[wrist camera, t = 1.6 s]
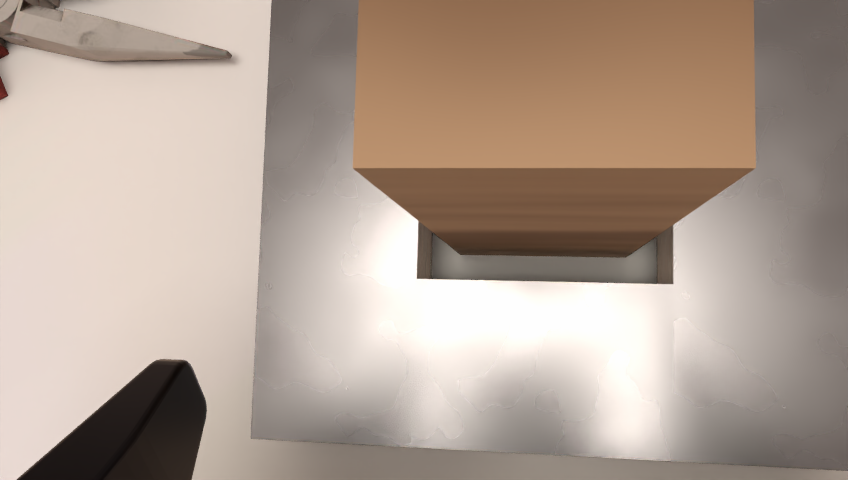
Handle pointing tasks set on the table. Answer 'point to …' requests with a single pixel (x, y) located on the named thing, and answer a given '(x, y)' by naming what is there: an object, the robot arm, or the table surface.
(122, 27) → the pliers
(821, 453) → the post plate
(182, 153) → the table surface
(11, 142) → the table surface
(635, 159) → the walnut peg
